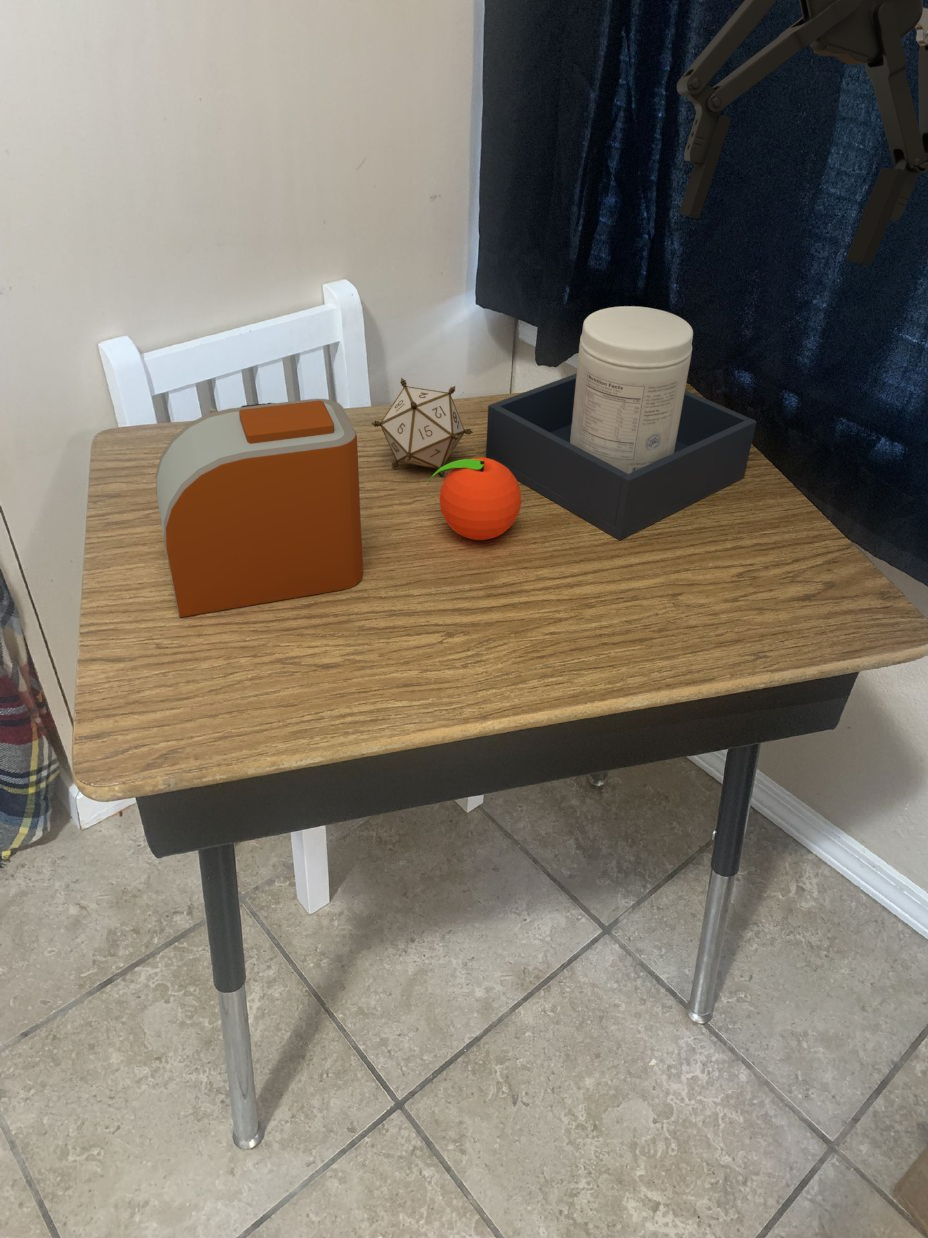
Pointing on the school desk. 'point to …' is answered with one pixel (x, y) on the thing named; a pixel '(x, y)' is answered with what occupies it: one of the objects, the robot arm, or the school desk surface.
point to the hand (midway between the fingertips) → (774, 240)
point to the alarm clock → (261, 505)
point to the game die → (422, 427)
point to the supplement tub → (630, 385)
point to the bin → (600, 493)
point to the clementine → (479, 498)
